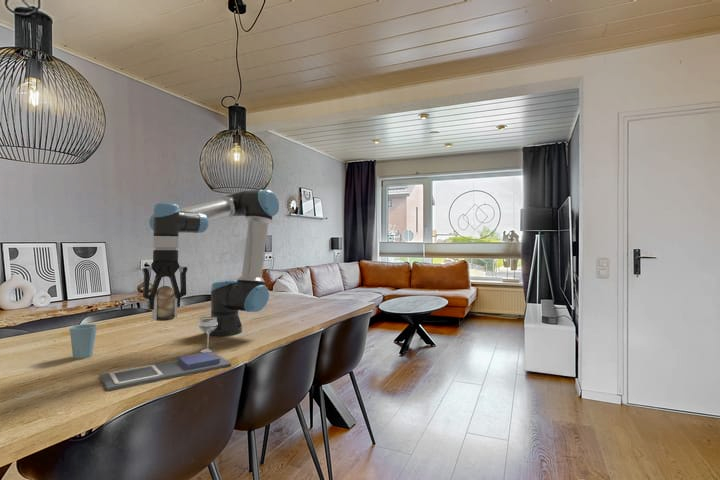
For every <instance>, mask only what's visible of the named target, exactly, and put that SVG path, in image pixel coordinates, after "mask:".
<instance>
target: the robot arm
mask: <svg viewBox="0 0 720 480" xmlns="http://www.w3.org/2000/svg"><path fill="white" fill-rule="evenodd" d="M279 210H280V202H279V199H278V196H277V195H276V193H274V192H273V191H272V190H270V189H257V190H242V191H238V192H234V193H231V194H228V195H225V196H220V198H219V199H216V200H212V201H208V202H204V203H200V204H196V205H192V206H187V207H182V208H180V206H179V204H177V203H169V202H159V203H156V204H155V205H154V207H153V214H152V215H151V216H150V218H149V221H148V222H149V227H150V229H151V230H152V231H153V240H152V241H153V246H152V247H153V251H152V264H151V265H150V266H148V267H143V268H142V273H143V283H142V298H143V299H147V300H148V309H149V311H151V319H152V320H153V321H156V320H157V298H156V293H157V290H158V289H159V286H160V283H161V280H162V278H165V277H167V278H169V280H170V284H171V288H172V289H173V292H174V297H172V298H173V315H174V319H175V318H178V308H180V307H181V298H182V297H185V296H186V295H187V271H188V270H189V269H188V267H187V266H181V265H180V263H179V250H178V249H179V234H180V233H182V234H183V233H188V234H189V233H190V234H191V233H193V234H200V233H204V232H206V231H207V229H208V227H209V222H210V221H213V220H216V219H220V218H223V217H225V218H231V217H245V219H246V220H247V232H246V239H245V246H244V247H245V248H244V253H243V254H244V256H243V263H242V271H241V275H240V277H238V278H237V279H234V280H233V279H232V280H223V281H215V282H213V283H212V284H211V291H210V293H211V294H210V317H217V318H218V319H217V321H218V326H217V328H216V329H215V330H214V331H212V332H210V334H209V336H217V337H218V336H219V337H222V336H232V335H237V334H241V333H242V332H243V325H242V321H241V318H240V315H239V311H241V312H247V313H258V312H261V310H263V309H264V308H265V307H266V306H267V304H268V301H269V297H270V291H269V289H268V287H267V286H266V285H265V283H266V281H265V280H264V278H263V271H264V261H265V254H266V245H267V236H268V230H269V229H268V228H269V224H271V223H272V222H273V217H274V216H276V215H277V214H278V213H279ZM152 271H153V273H155V277H154V280H153V283H152V285H151V289H150V281H151V280H150V277H151V275H150V274H151V273H152ZM177 271H178V272H179V277H180V278H179V279H180V280H179V284H180V285H179V286H178V282H177V281H178V280H177V277H176V273H177ZM179 287H180V288H179ZM149 291H150V292H149Z"/></svg>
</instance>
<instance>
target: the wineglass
mask: <svg viewBox="0 0 720 480" xmlns="http://www.w3.org/2000/svg"><path fill="white" fill-rule="evenodd" d="M217 319H218V318H217V317H211V316H202V317H200V318H198V321H199V322H198V328H199V330H201V332H203V333H205V334H206V348H204V349H201V350H200V353H204V352H210V353H212V352H215V351H216V350H215V349H214V348H209V342H210V335H209V334H210V332H212V331H214V330H215V329H216V328H217V326H218V321H217Z"/></svg>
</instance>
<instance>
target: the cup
mask: <svg viewBox="0 0 720 480" xmlns="http://www.w3.org/2000/svg"><path fill="white" fill-rule="evenodd" d="M97 328H98V325H97V324H93V323H92V324H91V323H90V324H89V323H87V324H79V325H73V326H70V327H69V335H70V343H71V353H72V359H76V360H79V359H80V360H81V359H87V358H90V357H92V356H93V355H94V348H95V341H96V336H97V335H96V334H97V331H98V330H97Z"/></svg>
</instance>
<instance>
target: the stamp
mask: <svg viewBox="0 0 720 480" xmlns="http://www.w3.org/2000/svg"><path fill="white" fill-rule="evenodd" d="M174 296H175V294H174V291H173V287H172V286H168V285H162V286H160V287H158V289H157V292H156V295H155V297H157V298H156V300H157V320H155V321H156V322H157V321H158V322H164V321H165V322H167V321H171V320H174V319H175V318H174V315H173V298H174Z"/></svg>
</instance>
